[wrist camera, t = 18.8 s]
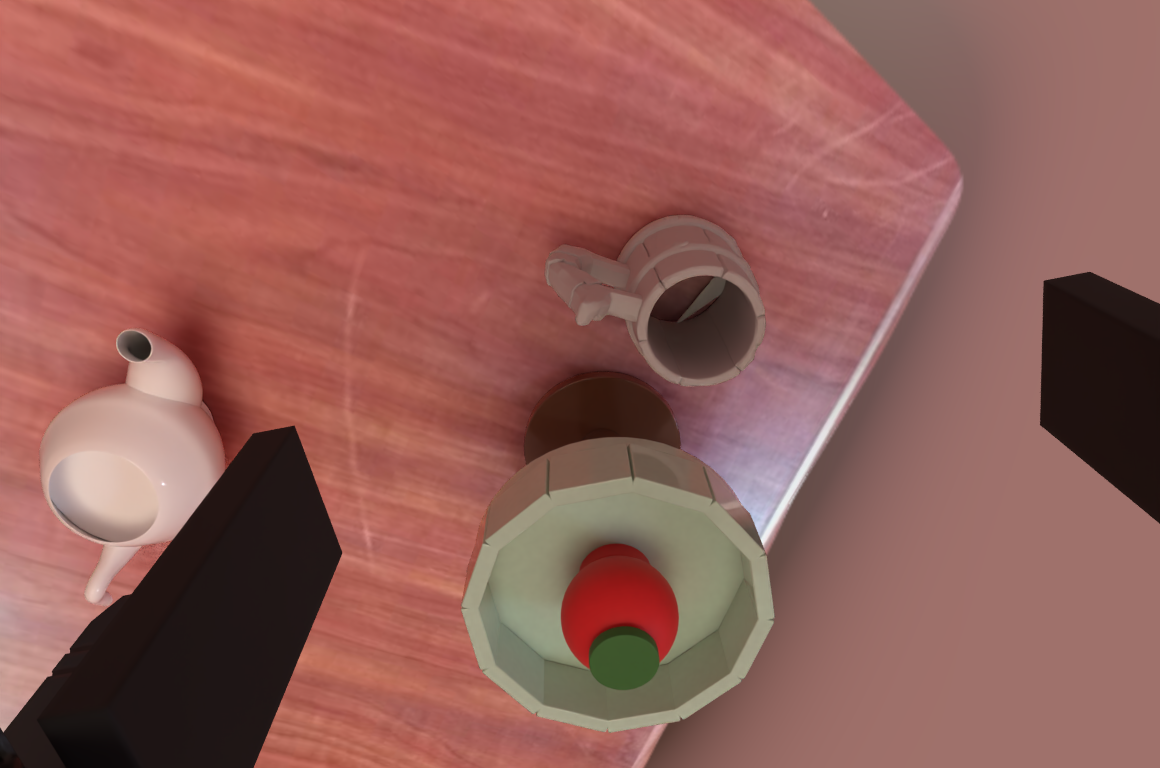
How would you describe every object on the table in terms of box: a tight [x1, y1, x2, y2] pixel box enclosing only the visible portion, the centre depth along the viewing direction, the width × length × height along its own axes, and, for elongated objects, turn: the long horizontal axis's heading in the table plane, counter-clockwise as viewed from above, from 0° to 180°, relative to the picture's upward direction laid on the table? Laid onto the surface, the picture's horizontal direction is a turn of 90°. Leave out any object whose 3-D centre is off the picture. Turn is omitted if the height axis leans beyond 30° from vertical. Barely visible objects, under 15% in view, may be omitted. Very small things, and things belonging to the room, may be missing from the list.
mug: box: [545, 215, 766, 386], centre depth 44 cm, size 8×12×12 cm, turn 76°
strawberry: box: [561, 544, 679, 690], centre depth 38 cm, size 5×5×6 cm
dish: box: [461, 371, 775, 733], centre depth 46 cm, size 14×14×17 cm
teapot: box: [39, 328, 225, 606], centre depth 48 cm, size 10×20×9 cm, turn 159°
